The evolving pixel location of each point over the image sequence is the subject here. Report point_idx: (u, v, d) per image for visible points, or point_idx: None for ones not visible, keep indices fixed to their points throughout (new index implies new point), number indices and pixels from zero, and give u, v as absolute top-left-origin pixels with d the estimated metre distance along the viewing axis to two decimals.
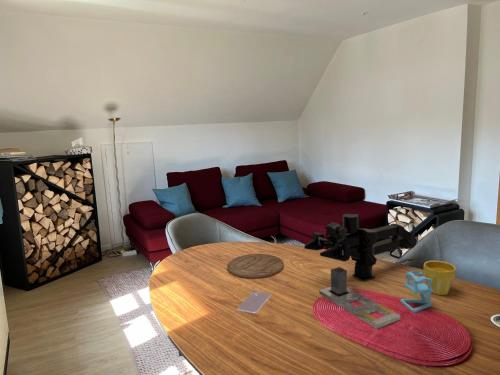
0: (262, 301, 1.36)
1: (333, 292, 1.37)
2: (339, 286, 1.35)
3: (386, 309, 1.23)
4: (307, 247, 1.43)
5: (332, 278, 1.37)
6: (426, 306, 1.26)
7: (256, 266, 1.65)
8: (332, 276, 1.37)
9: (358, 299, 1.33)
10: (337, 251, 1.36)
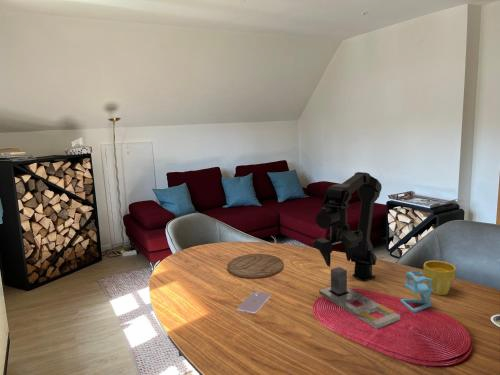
0: (262, 301, 1.36)
1: (333, 292, 1.37)
2: (339, 286, 1.35)
3: (386, 309, 1.23)
4: None
5: (332, 278, 1.37)
6: (426, 306, 1.26)
7: (256, 266, 1.65)
8: (332, 276, 1.37)
9: (358, 299, 1.33)
10: None
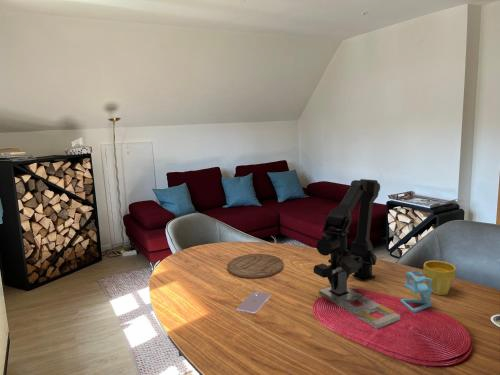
0: (262, 301, 1.36)
1: (333, 292, 1.37)
2: (339, 286, 1.35)
3: (386, 309, 1.23)
4: None
5: None
6: (426, 306, 1.26)
7: (256, 266, 1.65)
8: None
9: (358, 299, 1.33)
10: None
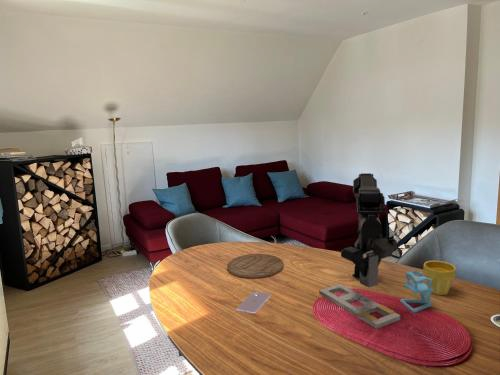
0: (262, 301, 1.36)
1: (362, 279, 1.22)
2: (369, 273, 1.20)
3: (386, 309, 1.23)
4: None
5: None
6: (426, 306, 1.26)
7: (255, 266, 1.65)
8: None
9: (358, 299, 1.33)
10: None
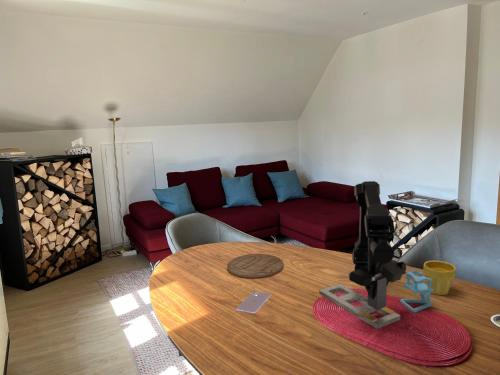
0: (261, 301, 1.36)
1: (370, 302, 1.21)
2: (378, 296, 1.18)
3: (386, 309, 1.23)
4: None
5: None
6: (426, 306, 1.26)
7: (255, 266, 1.65)
8: None
9: (358, 299, 1.33)
10: None
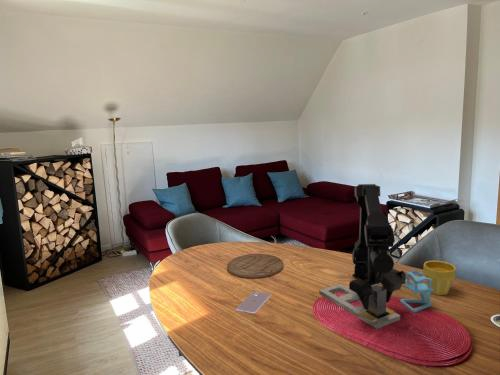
0: (261, 301, 1.36)
1: (370, 313, 1.22)
2: (378, 307, 1.19)
3: (386, 309, 1.23)
4: None
5: (369, 298, 1.21)
6: (426, 306, 1.26)
7: (255, 266, 1.65)
8: None
9: (358, 299, 1.33)
10: None
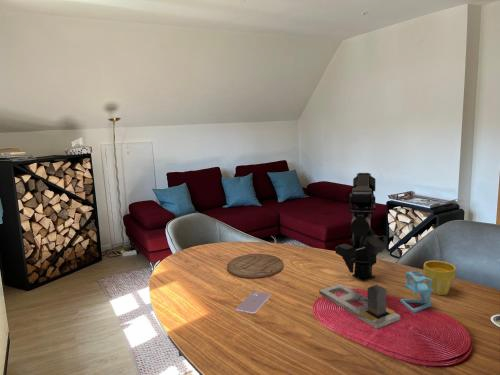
0: (261, 301, 1.35)
1: (370, 313, 1.22)
2: (378, 307, 1.19)
3: (386, 309, 1.23)
4: None
5: (369, 298, 1.21)
6: (426, 306, 1.26)
7: (255, 266, 1.65)
8: (369, 295, 1.21)
9: (358, 299, 1.33)
10: None
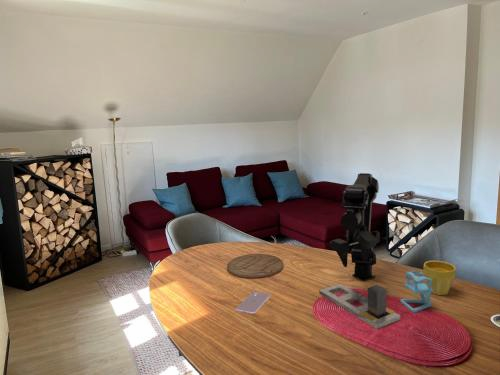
0: (261, 301, 1.35)
1: (370, 313, 1.22)
2: (378, 307, 1.19)
3: (386, 309, 1.23)
4: None
5: (369, 298, 1.21)
6: (426, 306, 1.26)
7: (255, 266, 1.65)
8: (369, 295, 1.21)
9: (358, 299, 1.33)
10: None
